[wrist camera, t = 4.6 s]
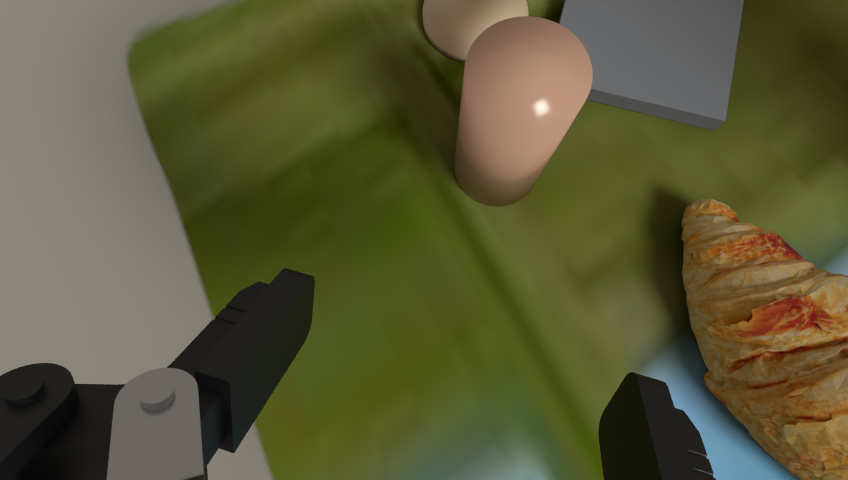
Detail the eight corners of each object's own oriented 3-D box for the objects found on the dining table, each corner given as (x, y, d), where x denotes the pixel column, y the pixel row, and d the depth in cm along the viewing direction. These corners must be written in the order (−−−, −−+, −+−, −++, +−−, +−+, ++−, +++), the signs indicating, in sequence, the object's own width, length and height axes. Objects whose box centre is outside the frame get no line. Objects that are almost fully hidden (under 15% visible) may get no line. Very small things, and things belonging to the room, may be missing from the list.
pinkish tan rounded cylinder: (546, 139, 29) (604, 32, 19) (527, 216, 28) (578, 143, 18) (466, 119, 29) (482, 4, 19) (444, 193, 28) (449, 110, 18)
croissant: (615, 247, 31) (606, 250, 23) (770, 156, 27) (816, 126, 20) (836, 565, 26) (910, 693, 18) (1064, 507, 22) (1268, 639, 15)
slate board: (742, -48, 32) (753, -64, 30) (713, 130, 29) (725, 120, 27) (584, -81, 33) (590, -97, 31) (541, 88, 29) (545, 77, 28)
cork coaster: (536, -13, 31) (538, -20, 31) (512, 74, 30) (514, 69, 29) (438, -35, 32) (438, -42, 31) (410, 50, 30) (409, 43, 30)
